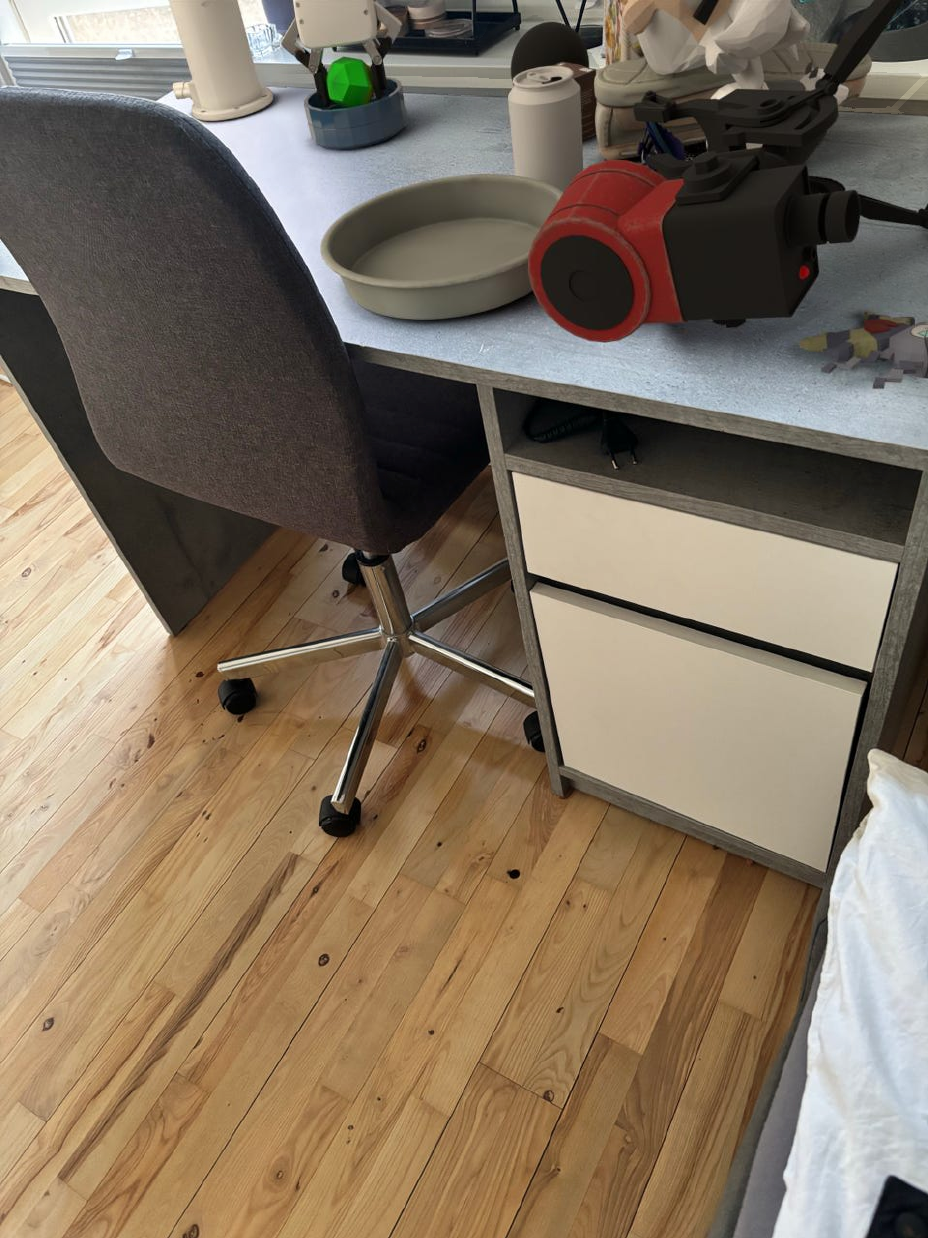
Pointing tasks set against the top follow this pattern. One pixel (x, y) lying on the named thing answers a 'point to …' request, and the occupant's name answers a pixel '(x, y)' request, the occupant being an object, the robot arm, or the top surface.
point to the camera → (708, 213)
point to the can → (546, 125)
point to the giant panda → (803, 85)
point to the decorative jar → (619, 35)
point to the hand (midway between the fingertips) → (354, 98)
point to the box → (585, 96)
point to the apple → (350, 82)
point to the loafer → (690, 93)
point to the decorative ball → (548, 48)
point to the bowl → (357, 119)
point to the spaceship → (659, 144)
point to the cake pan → (441, 245)
